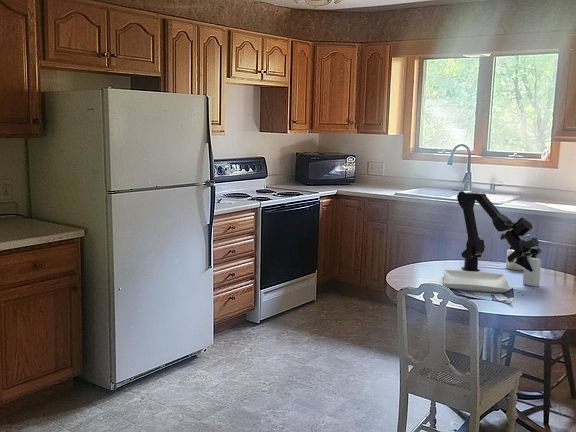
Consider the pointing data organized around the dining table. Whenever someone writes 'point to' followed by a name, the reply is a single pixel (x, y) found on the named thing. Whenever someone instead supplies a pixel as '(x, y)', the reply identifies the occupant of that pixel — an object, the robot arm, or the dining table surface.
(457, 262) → the dining table surface
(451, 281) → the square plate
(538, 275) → the skincare box
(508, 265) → the pale grey cylinder
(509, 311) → the dining table surface
